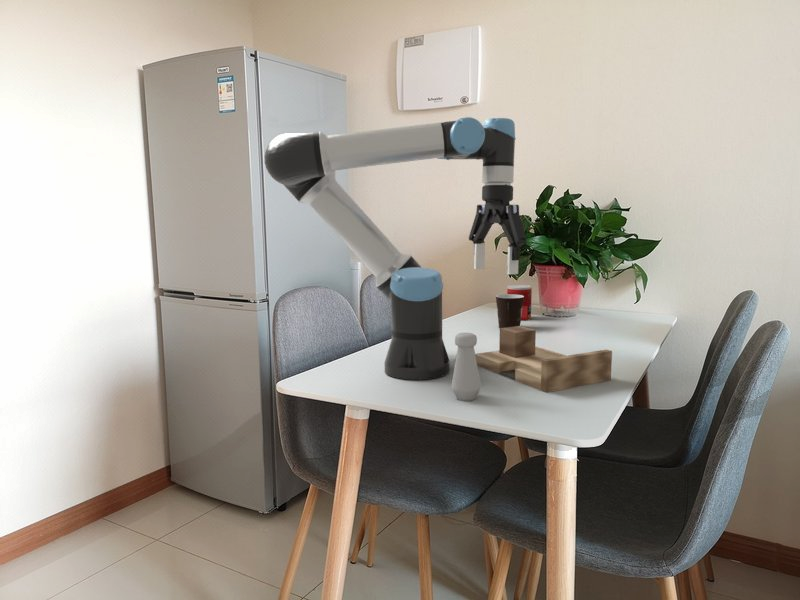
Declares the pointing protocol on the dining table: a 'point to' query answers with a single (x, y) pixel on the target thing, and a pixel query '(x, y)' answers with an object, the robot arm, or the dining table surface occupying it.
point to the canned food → (527, 293)
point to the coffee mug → (509, 310)
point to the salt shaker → (465, 368)
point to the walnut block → (517, 341)
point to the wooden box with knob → (550, 368)
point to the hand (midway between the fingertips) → (495, 271)
